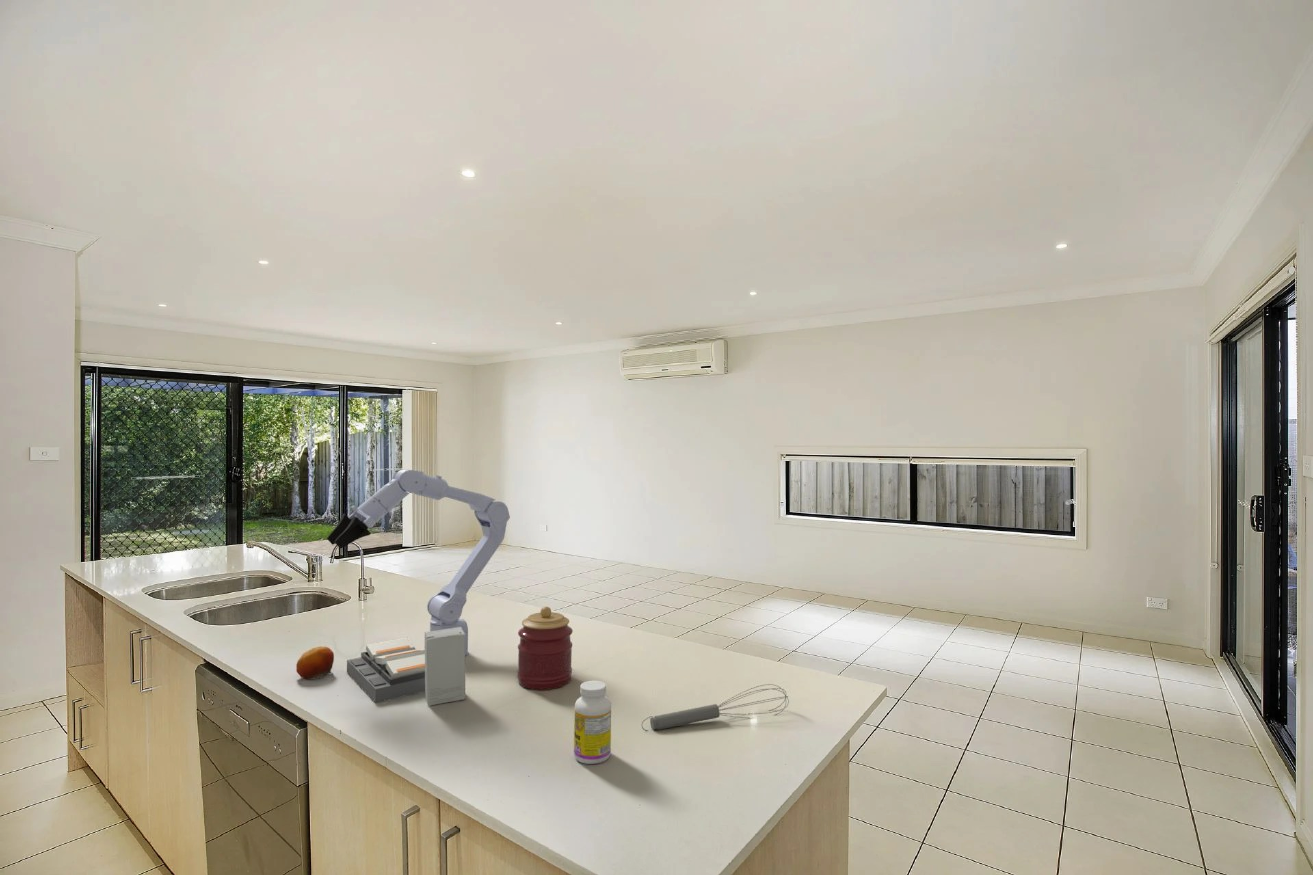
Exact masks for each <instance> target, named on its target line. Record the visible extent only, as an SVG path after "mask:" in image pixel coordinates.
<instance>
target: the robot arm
mask: <svg viewBox="0 0 1313 875" xmlns="http://www.w3.org/2000/svg"><path fill="white" fill-rule="evenodd" d="M409 494H414V495H417V496H422V497H425V498H429V499H432V500H436V501H440V500H442V499H443V498H448V499H450V500H454V501H459V502H461V503H465V504H468V505H469V507H470V509H471V510H472V511H474V516H475V518H476V520H477V521H478V522H479V525H480V526H481V530H482V537H481V538H480V540H479V541H478V542H477V543H476V545H475V547H474V548H473V549H472V551H471V553H470V554H469V555H468V557H467V558H466V559H465V561H464V562H463V564H462V565H461V567H459V569H458V571H457V572H456V573H455V575H454V576H453V578H452V579H451V581H450V582H449V583H448V584H446V585H445V586H443V587H441V589H440V590H439V591H438V592H437V593H436V594H434V595H433V596H431V598H429V600H428V602H427V605H426V608H427V609H426V610H427V612H428V614H429V615H430V616H431V617H430V620H429V622H430V623H429V632H430V631H437V630H444V629H451V628H457V627H461V628H462V630H463V631H464V633H465V656H467V655H470V653H469V651H468V650H469V648H468V647H469V627H468V623H467V621H466V620H465V619H464V618H461V616H462V613H463V609H464V606H465V604H466V603H467V594H468V592H469V591H470V590H471V588H472V586H473V585H474V584H475V582H476V580H477V579H478V578H479V577H480V574H481V573H482V572H483V570H484V569H485V567H486V566H487V565H488V563H489V562H490V561H491V559H492V557H493V556H494V554H495V553H496V551H497V549H498V548H499V547H500V545H501V544H502V542H503V541H504V539H505V534H506V531H507V530H506V528H507V524H508V522H509V520H510V518H511V516H510V512H509V507H508V506H507V504H506V503H505V502H503V501H497V500H496V499H495V498H494V497H493V498H492V497H490V496H488V495H485V494H482V493H479V492H474V491H471V490H467V489H464V488H463V489H462V488H458V487H454V486H450V485H449V484H448V482H447V481H446V480H445V479H444V478H443V476H441V475H435V476H433V475H430V474H425V473H424V471H421V470H413V469H400V470H399V471H396V472H395V473H394V474H393V476H392V478H391V480H390V481H389V482H387V483H386V484H384V485H383V486H381V487H380V489H379V490H377V491H376V492H375V493H373V494H372V495H371V496H370V497H369V498H367V500H365V501H363V503H362V504H360V505H359V506H358V507H357V506H356V505H352V506H350V508H351V509H352V510H353V511H352V513H351V514H350V515H349V516H347V515H346V514H345V513H343V514H341V518H340V520H338V521H339V522H337V525H336V526H335V527H334V528H333V530H332V531H331V532H330V533H329V535H328V536H327V537H326V540H327V541H328V542H329V543H330V544H331V545H336V546H337V547H338V548H339V549H343V548H345V547H346V546H348V545H350V544H352V543H353V542H355V541H358V540H359V539H362V538H364V537H367V536H370V535H371V534H372V533H371V532H370V531H369V529H372V528H373V527H374V525H375V524H376V523H377V522H379V521H380V520H381V519H382V518H383V517H384V516H386V515H387V514H388V513H389V512H390V511H391V510H393V509H394V508H395V507H396V506H397V505H399V503H400V502H402V501H403V500H404V499H405V498H406V497H407V496H408V495H409ZM368 528H369V529H368Z"/></svg>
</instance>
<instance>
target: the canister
mask: <svg viewBox="0 0 1313 875" xmlns="http://www.w3.org/2000/svg"><path fill="white" fill-rule="evenodd" d="M569 623H570V619H569V618H568V617H566V616H564V615H563V614H562V613H559V612H553V611H552V609H551V608H550V607H549V606H543V607H542V608H540V611H539V612H536V613H532V614H530V615H529V616H527V617H525V618H524V619H523V620H522V621H521V625H522V626H523V627H521V628H520V629H519V630H518V632H517V634H518V637H520V640H519V643H518V645H517V649H518V661H517V663H518V667H517V668H518V669H517V671H516V672H517V679H518V680H517V681H518V682H517V683H518V684H519V685H520V686H521V687H524V688H526V689H530V690H537V691H539V690H540V691H543V690H552V689H553V690H554V689H556V688H557V689H558V688H561V687H562V686H565V685H567V684H569V683H570V682H571V680H572V674H573V668H572V650H573V649H572V648H573V642H572V641H571V635H572V634H573V629H572V627H570V626H569V625H568V624H569Z"/></svg>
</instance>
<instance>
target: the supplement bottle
mask: <svg viewBox="0 0 1313 875" xmlns="http://www.w3.org/2000/svg"><path fill="white" fill-rule="evenodd" d="M579 689H580V690H579V693H580V695H581V696H579V698H577V699H576V701H575V703H574V728H573V729H574V730H573V756H574V758H575V759H576V761H578V762H579V763H581V764H585V765H595V764H597V765H598V764H601V763H604V762H606V761H607V760H608V759H609V758H610V756H611V752H612V751H611V750H612V702H611V700H610V698H609V697H608V696H606V694H607V684H606V682H603V681H601V680H589V681H584V682H582V683H581V684H580V688H579Z"/></svg>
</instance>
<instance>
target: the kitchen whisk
mask: <svg viewBox="0 0 1313 875" xmlns="http://www.w3.org/2000/svg"><path fill="white" fill-rule="evenodd" d="M764 686H774V687H772V688H771V687H770V688H762V689H761V688H760V689H756V690H753V691H750V690H752V689H755V688H758V687H764ZM775 686H776V687H775ZM769 690H773V691H778V692H781V693H782V694H784V696H780V697H779V696H778V697H773V698H767V699H763V700H757V701H753V702H749V703H743V704H738V705H735V706H730V707H729V706H728V707H724V706H726V705H728V704H730V703H733V702H736V701H738V700H740V699H744V698H745V697H748V696H751V695H754V694H757V693H761V692H764V691H769ZM781 690H782V691H781ZM748 691H749V692H748ZM786 693H787V691H786V690H785V689H784V688H782V687H781V686H779V685H777V684H773V683H771V684H770V683H769V684H766V683H765V684H761V685H757V686H754V687H751V688H750V689H746V690H744V691H742V692H740V693H738V694H736V695H734V696H732V697H730V698H729V699H727V700H725V701H723V702H722V703H720V704H719V705H718V704H716V703H714V704H709V705H704V706H700V707H699V706H698V707H694V708H693V707H692V708H690V709H689V708H688V709H684V710H680V711H679V710H678V711H674V712H669V713H664V714H659V715H654V716H652V715H651V716H649V717H646V718H644V719H643V721H641V724H644V722H645V721H646V720H648V719H649V721H650V722H649V723H650V728H651V731H652V730H653V731H655V730H656V731H660V730H664V729H669V728H670V729H671V728H674V727H679V726H684V725H689V724H693V723H698V722H702V721H708V720H712V719H717V718H720V716H724V717H728V715H729V717H730V718H731V717H732V718H736V716H733V715H730V713H728V712H727V713H725V712H724V713H723V712H720V711H726V710H731V709H737V708H742V707H748V706H752V705H757V704H763V703H768V702H773V701H777V700H782V699H784V700H783V702H782V703H781V704H780V705H779V706H776V707H775V708H773V709H772V708H771V709H769V710H768V711H767V714H771V713H775V714H773V715H772V716H777V715H779V714H780V713H781V712H783V711H784V710H785V709H786V708H787V707H788V706H789V704H790V701H789V698H788V697H789V696H787V694H786ZM741 694H742V695H741ZM786 700H787V702H788V703H785V702H786ZM784 703H785V704H784ZM783 704H784V707H783V708H781V709H779V710H776V709H778V708H780V707H781V706H782V705H783ZM721 707H724V708H721ZM720 708H721V709H720ZM773 710H774V711H773ZM779 711H780V712H779ZM777 712H778V713H777ZM764 714H766V712H762V713H761V712H759V713H757V712H756V713H755V715H764ZM734 715H744V717H743V716H737V718H740V719H749V717H745V713H734ZM749 715H752V713H749ZM641 728H642V730H644V731H646V732H649V730H647V729H645V728H643V726H641Z"/></svg>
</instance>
